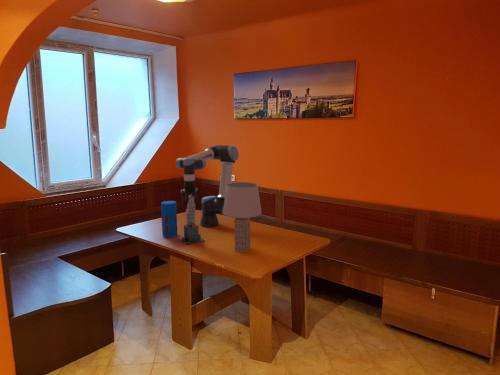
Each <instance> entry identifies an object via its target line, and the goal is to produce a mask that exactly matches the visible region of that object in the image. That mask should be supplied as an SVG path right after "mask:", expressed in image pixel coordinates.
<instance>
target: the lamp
mask: <svg viewBox="0 0 500 375" xmlns="http://www.w3.org/2000/svg"><path fill="white" fill-rule="evenodd" d="M258 185H259V184H257V183H255V182H251V181H250V182H249V181H248V182H247V181H238V182H237V181H236V182H231V183H229V184H227V185H226V193H225V200H224V208H223V214H222V215H224V216H226V217H229V218H235V219H234V220H233V221H234V222H233V223H234V252H242V253H244V252H245V253H248V252H249V250H250V248H251V218H256V217H258V216H260V215H262V206H261V200H260V192H259V191H260V190H259V187H258Z"/></svg>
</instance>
